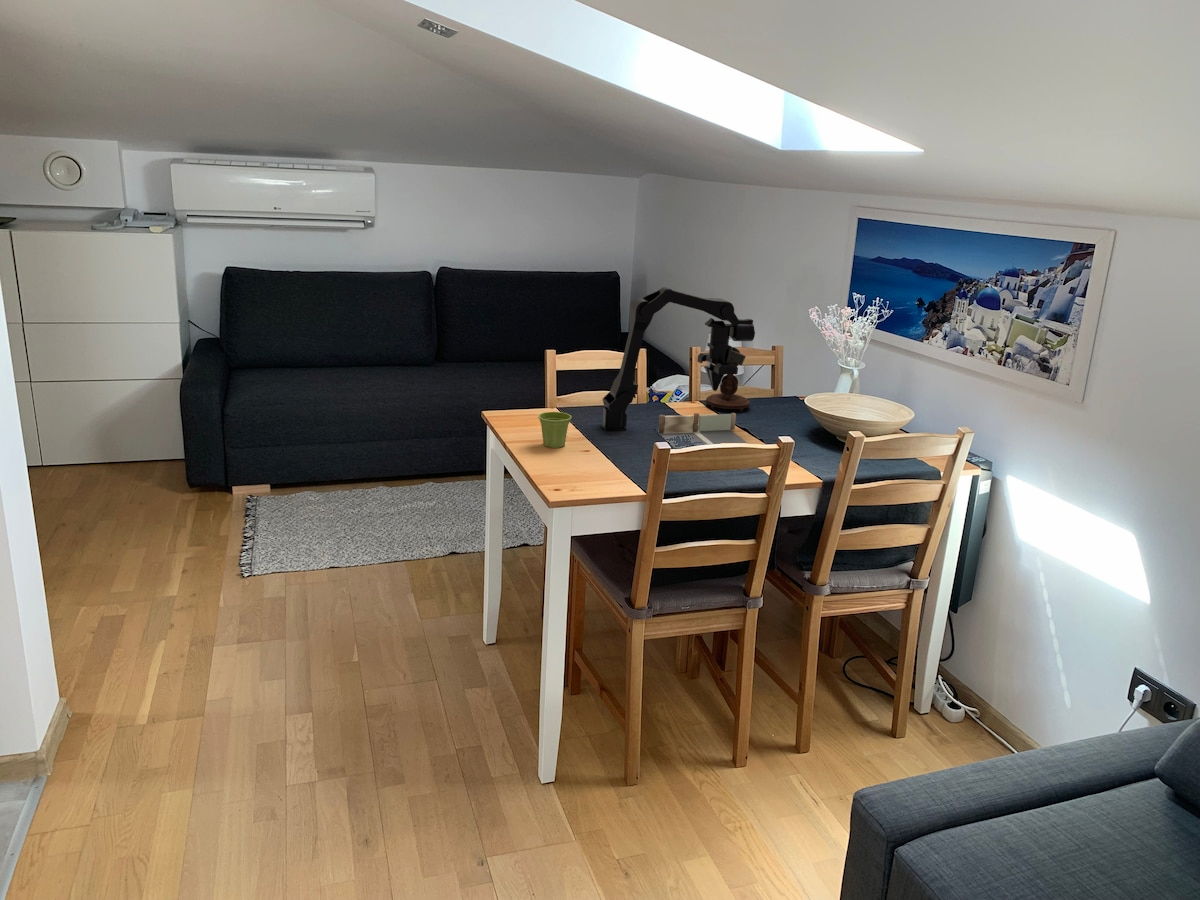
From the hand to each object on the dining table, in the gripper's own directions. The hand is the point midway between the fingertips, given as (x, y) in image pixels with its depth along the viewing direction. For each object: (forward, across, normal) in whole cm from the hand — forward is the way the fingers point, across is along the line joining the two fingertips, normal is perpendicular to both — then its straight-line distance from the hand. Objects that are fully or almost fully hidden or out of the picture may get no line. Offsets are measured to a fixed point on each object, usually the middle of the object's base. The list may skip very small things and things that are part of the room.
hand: (714, 390), depth 288 cm
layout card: (+12, -11, +8) cm, 18 cm away
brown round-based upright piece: (+12, +21, -14) cm, 28 cm away
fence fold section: (+11, -6, +1) cm, 12 cm away
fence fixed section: (+11, -6, +13) cm, 19 cm away
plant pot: (+12, -14, +54) cm, 57 cm away
